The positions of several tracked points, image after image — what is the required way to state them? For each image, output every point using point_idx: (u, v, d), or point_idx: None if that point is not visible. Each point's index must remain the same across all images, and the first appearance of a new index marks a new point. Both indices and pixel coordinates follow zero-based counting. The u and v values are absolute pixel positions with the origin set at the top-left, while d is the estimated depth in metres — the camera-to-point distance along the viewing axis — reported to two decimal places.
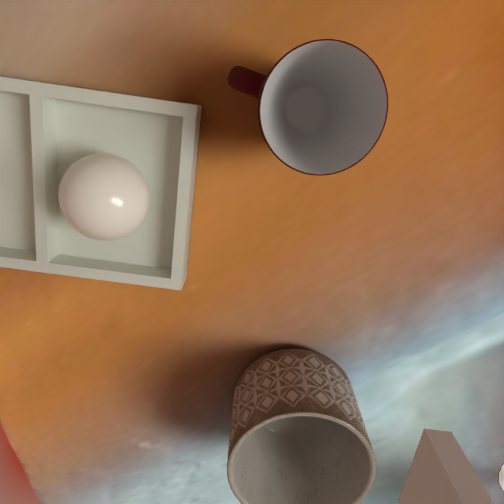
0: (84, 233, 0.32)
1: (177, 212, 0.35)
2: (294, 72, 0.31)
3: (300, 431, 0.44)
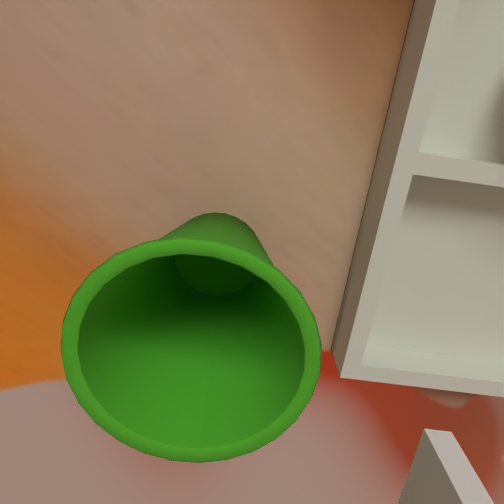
0: None
1: None
2: None
3: None
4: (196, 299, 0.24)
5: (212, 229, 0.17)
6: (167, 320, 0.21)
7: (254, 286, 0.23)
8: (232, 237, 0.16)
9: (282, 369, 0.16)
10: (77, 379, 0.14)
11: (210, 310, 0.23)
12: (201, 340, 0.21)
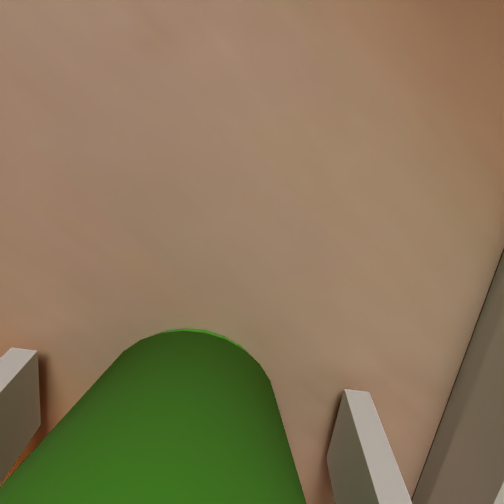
0: None
1: None
2: None
3: None
4: None
5: None
6: None
7: None
8: None
9: None
10: None
11: None
12: None
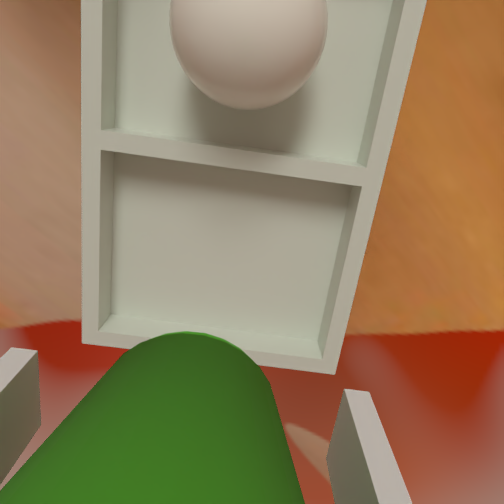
0: (304, 48, 0.17)
1: None
2: None
3: None
4: None
5: None
6: None
7: None
8: None
9: None
10: None
11: None
12: None
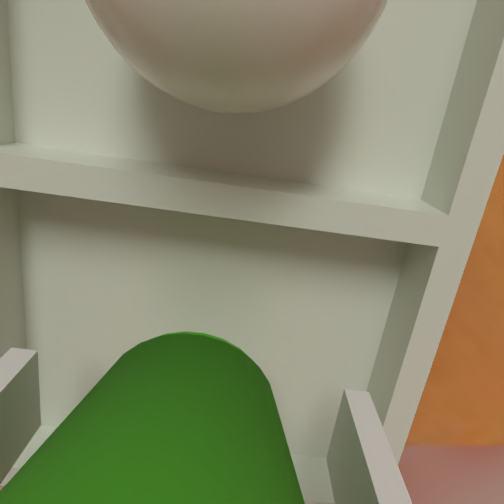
0: None
1: None
2: None
3: None
4: None
5: None
6: None
7: None
8: None
9: None
10: None
11: None
12: None
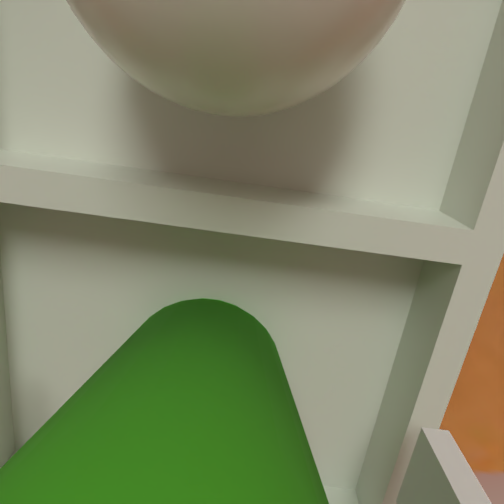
0: None
1: None
2: None
3: None
4: None
5: (175, 405, 0.07)
6: None
7: None
8: (218, 444, 0.07)
9: None
10: None
11: None
12: None
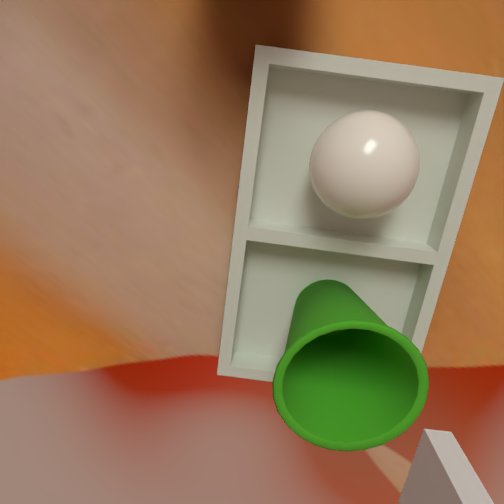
0: (407, 189, 0.25)
1: (389, 77, 0.26)
2: None
3: None
4: (312, 339, 0.34)
5: (348, 303, 0.27)
6: (301, 356, 0.31)
7: (355, 331, 0.33)
8: (364, 310, 0.26)
9: (395, 393, 0.26)
10: (280, 398, 0.24)
11: (324, 348, 0.33)
12: (324, 371, 0.31)
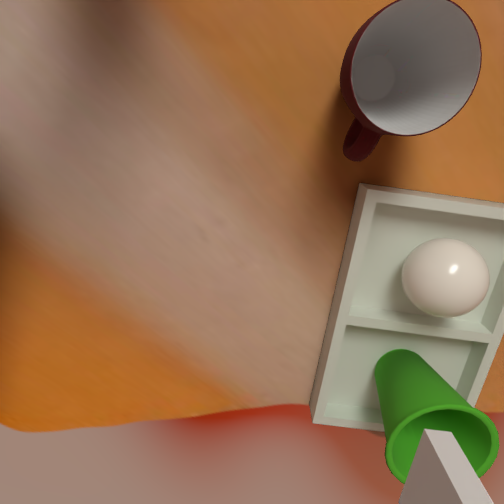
0: (481, 301, 0.34)
1: (465, 213, 0.35)
2: None
3: None
4: None
5: (433, 380, 0.36)
6: None
7: None
8: (447, 387, 0.35)
9: (468, 448, 0.35)
10: (390, 456, 0.33)
11: None
12: None
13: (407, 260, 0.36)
